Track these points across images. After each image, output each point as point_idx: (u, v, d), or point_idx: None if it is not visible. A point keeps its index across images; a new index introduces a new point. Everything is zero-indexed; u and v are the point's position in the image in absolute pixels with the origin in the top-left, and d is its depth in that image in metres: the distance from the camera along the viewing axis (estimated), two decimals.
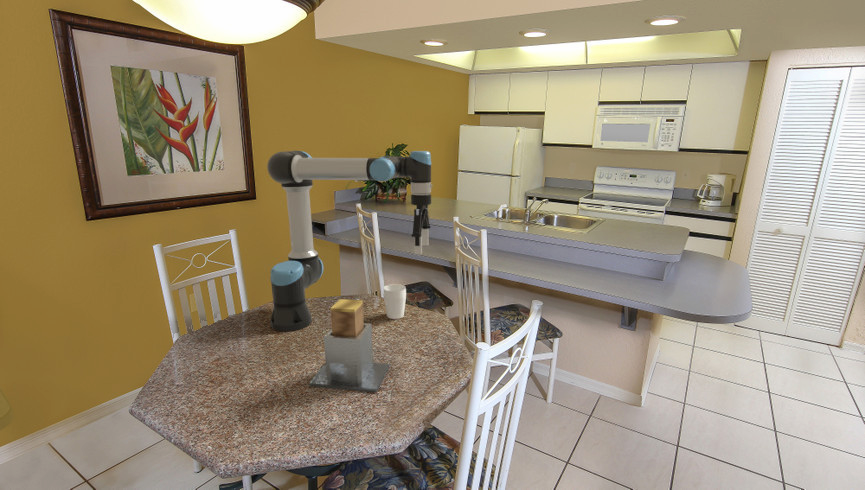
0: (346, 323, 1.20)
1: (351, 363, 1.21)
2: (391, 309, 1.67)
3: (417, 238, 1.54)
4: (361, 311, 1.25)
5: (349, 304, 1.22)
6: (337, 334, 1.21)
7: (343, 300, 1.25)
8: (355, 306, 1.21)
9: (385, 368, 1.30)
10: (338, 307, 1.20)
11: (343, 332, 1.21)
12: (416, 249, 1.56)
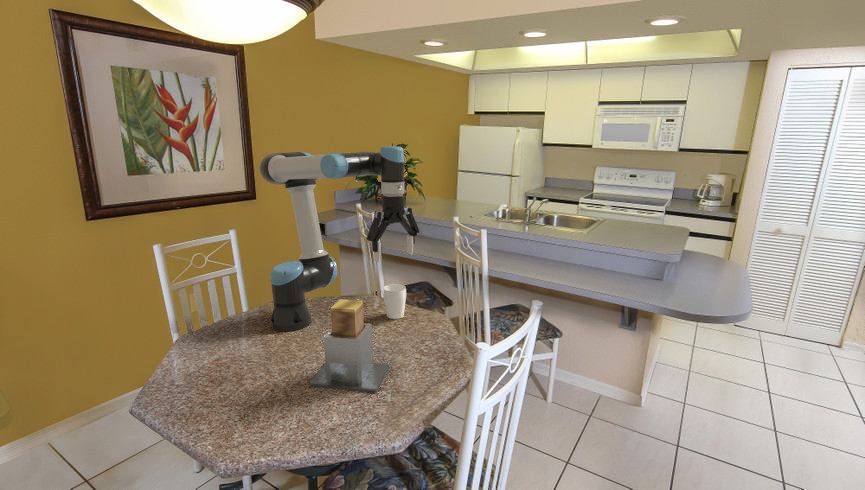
0: (346, 323, 1.20)
1: (351, 363, 1.21)
2: (391, 309, 1.67)
3: (373, 243, 1.38)
4: (361, 311, 1.25)
5: (349, 304, 1.22)
6: (337, 334, 1.21)
7: (343, 300, 1.25)
8: (355, 306, 1.21)
9: (385, 368, 1.30)
10: (338, 307, 1.20)
11: (343, 332, 1.21)
12: (375, 255, 1.40)
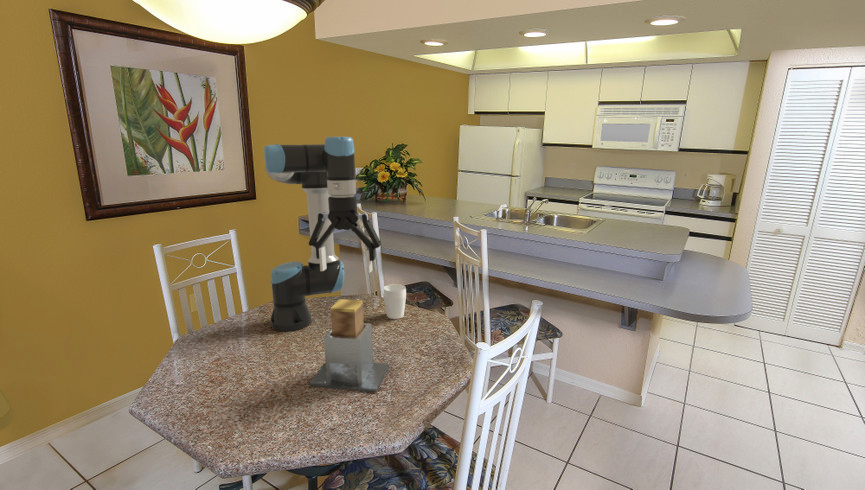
0: (346, 323, 1.20)
1: (351, 363, 1.21)
2: (391, 309, 1.67)
3: None
4: (361, 311, 1.25)
5: (349, 304, 1.22)
6: (337, 334, 1.21)
7: (343, 300, 1.25)
8: (355, 306, 1.21)
9: (385, 368, 1.30)
10: (338, 307, 1.20)
11: (343, 332, 1.21)
12: None
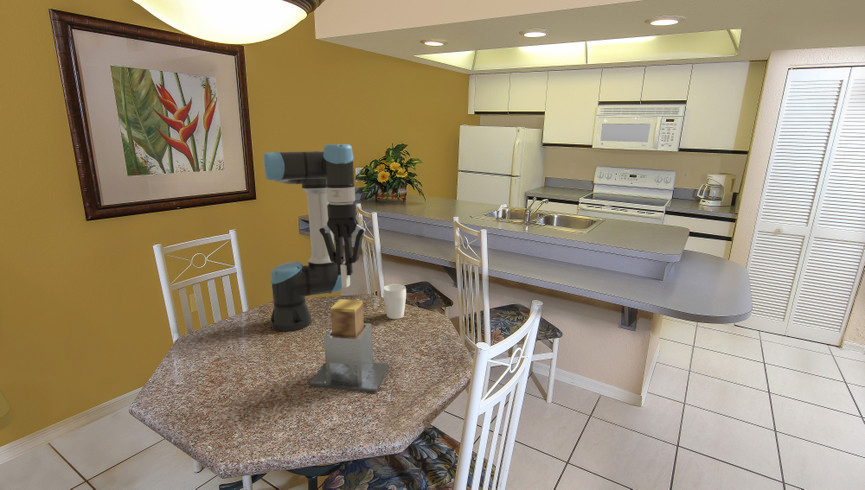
0: (346, 323, 1.20)
1: (351, 363, 1.21)
2: (391, 309, 1.67)
3: None
4: (361, 311, 1.25)
5: (349, 304, 1.22)
6: (337, 334, 1.21)
7: (343, 300, 1.25)
8: (355, 306, 1.21)
9: (385, 368, 1.30)
10: (338, 307, 1.20)
11: (343, 332, 1.21)
12: None
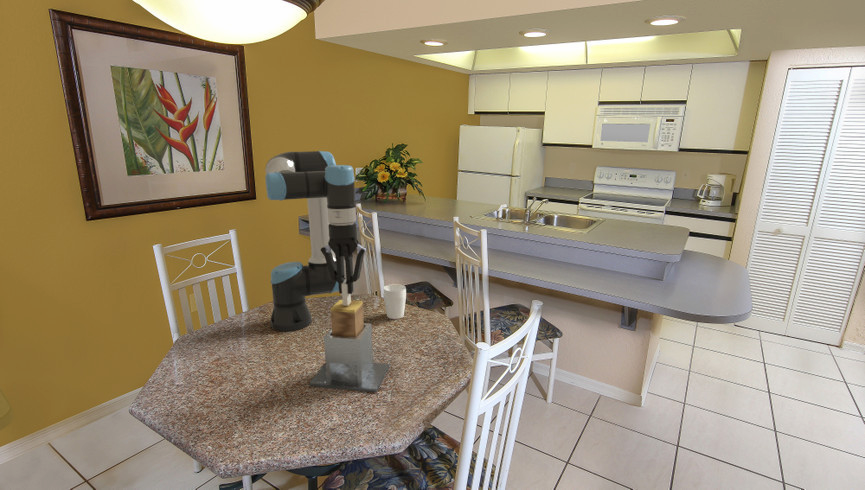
0: (346, 324, 1.20)
1: (351, 363, 1.21)
2: (391, 309, 1.67)
3: None
4: (361, 311, 1.25)
5: (349, 304, 1.22)
6: (337, 334, 1.21)
7: None
8: (355, 306, 1.21)
9: (385, 368, 1.30)
10: (338, 307, 1.20)
11: (343, 333, 1.21)
12: None
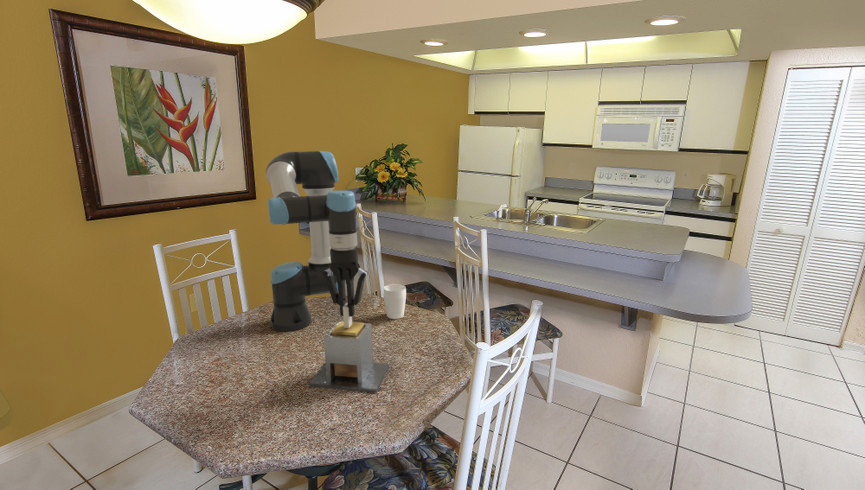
0: None
1: (351, 363, 1.21)
2: (391, 309, 1.67)
3: None
4: None
5: (351, 326, 1.24)
6: None
7: None
8: (356, 329, 1.22)
9: (385, 368, 1.30)
10: (340, 330, 1.22)
11: None
12: None
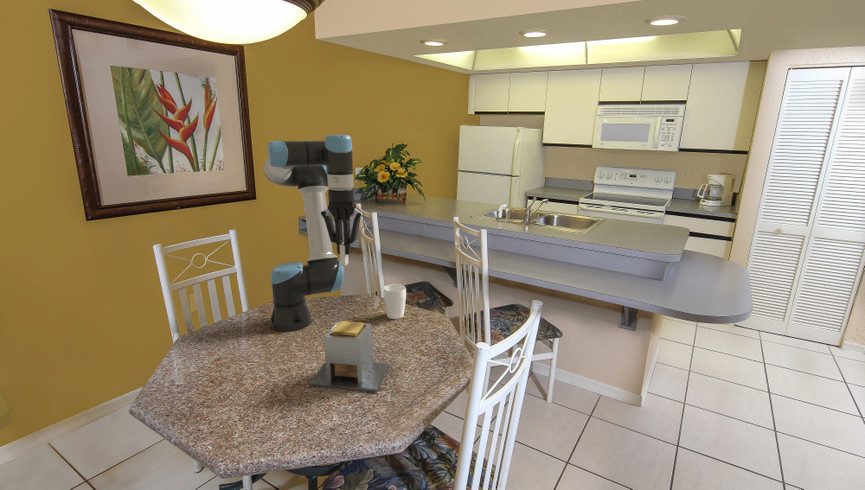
0: None
1: (351, 363, 1.21)
2: (391, 309, 1.67)
3: None
4: None
5: (351, 326, 1.24)
6: None
7: (344, 322, 1.27)
8: (356, 329, 1.22)
9: (385, 368, 1.30)
10: (340, 330, 1.22)
11: None
12: None
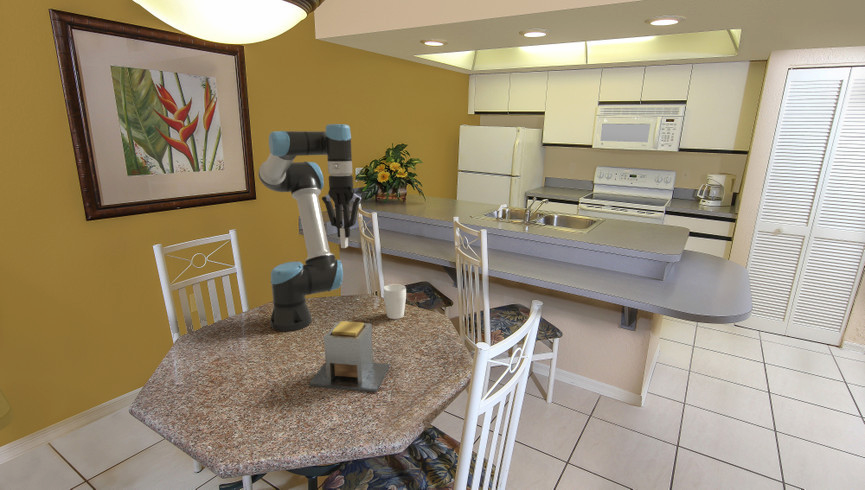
0: None
1: (351, 363, 1.21)
2: (391, 309, 1.67)
3: None
4: None
5: (351, 326, 1.24)
6: None
7: (344, 322, 1.27)
8: (356, 329, 1.22)
9: (385, 368, 1.30)
10: (340, 330, 1.22)
11: None
12: None
